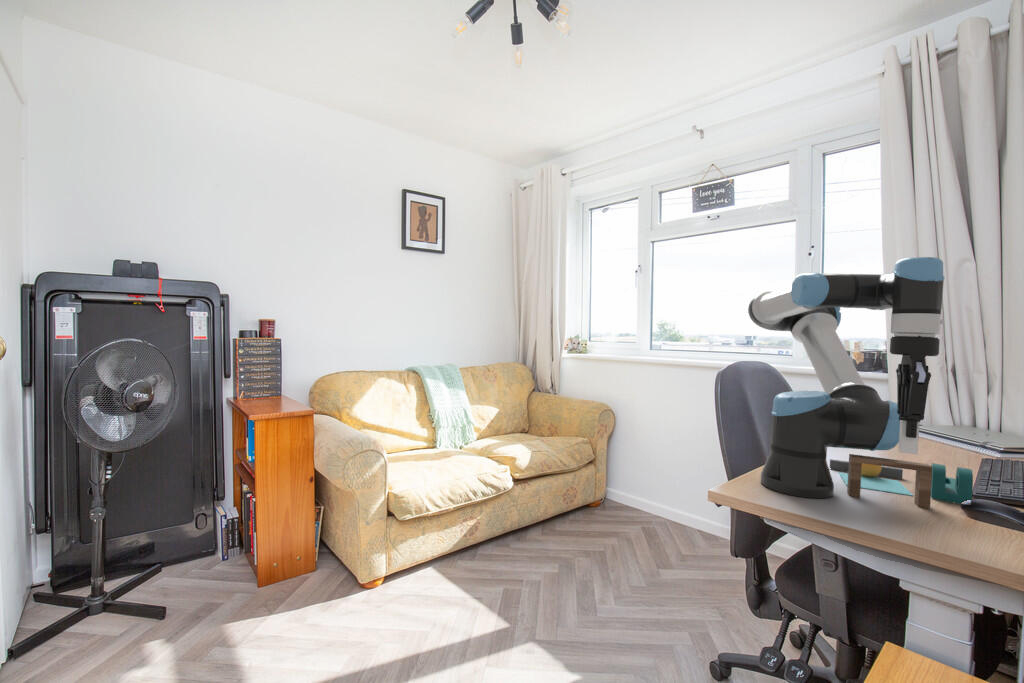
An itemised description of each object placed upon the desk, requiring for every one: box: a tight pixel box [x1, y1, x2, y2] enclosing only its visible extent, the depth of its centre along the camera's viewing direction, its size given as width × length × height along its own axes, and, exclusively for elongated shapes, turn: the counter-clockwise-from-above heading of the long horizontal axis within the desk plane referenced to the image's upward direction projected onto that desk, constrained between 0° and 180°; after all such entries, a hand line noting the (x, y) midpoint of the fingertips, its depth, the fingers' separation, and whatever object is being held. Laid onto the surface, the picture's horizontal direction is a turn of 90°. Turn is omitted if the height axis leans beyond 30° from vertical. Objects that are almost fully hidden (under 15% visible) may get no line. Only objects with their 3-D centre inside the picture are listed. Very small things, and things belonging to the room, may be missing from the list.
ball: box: [861, 455, 881, 477], centre depth 126 cm, size 6×6×6 cm
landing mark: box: [837, 471, 914, 497], centre depth 120 cm, size 13×13×1 cm
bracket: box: [930, 462, 974, 505], centre depth 115 cm, size 18×7×8 cm, turn 141°
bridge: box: [846, 453, 932, 509], centre depth 108 cm, size 3×14×9 cm, turn 63°
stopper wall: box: [829, 458, 904, 480], centre depth 130 cm, size 16×2×2 cm, turn 63°
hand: (907, 452), depth 95 cm, fingers closed
